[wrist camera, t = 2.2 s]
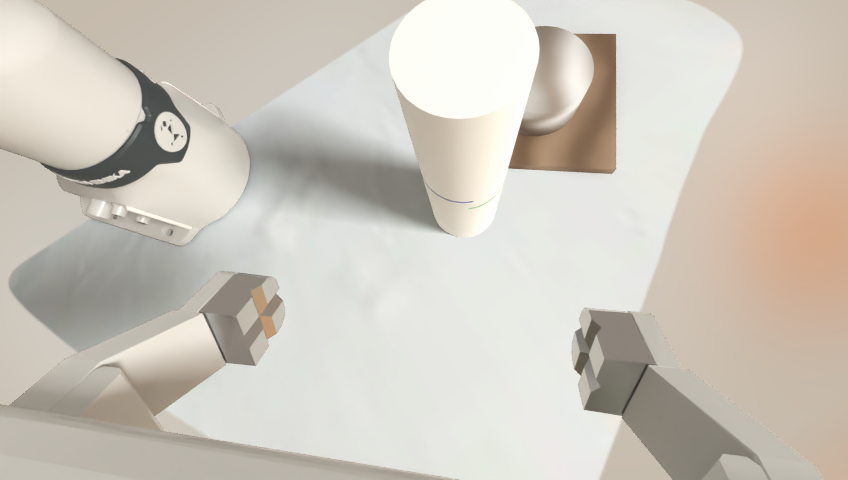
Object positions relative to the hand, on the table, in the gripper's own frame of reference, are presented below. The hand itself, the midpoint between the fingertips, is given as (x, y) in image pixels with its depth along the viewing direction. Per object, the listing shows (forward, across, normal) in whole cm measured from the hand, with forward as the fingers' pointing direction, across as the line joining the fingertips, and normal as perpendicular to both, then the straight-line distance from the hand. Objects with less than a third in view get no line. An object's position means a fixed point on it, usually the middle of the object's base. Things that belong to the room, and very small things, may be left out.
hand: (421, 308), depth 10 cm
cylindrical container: (+30, 0, +13) cm, 33 cm away
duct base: (+40, -7, +3) cm, 40 cm away
